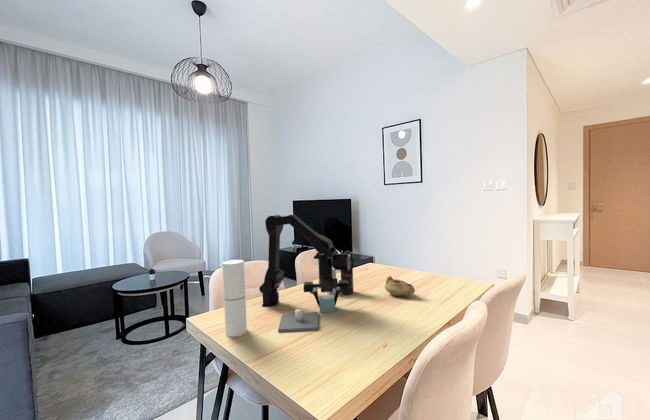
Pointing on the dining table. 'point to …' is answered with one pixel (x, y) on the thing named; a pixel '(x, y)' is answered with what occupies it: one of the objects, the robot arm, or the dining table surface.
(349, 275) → the deodorant
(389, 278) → the brown lumpy piece
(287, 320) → the post stand
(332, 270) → the skincare box
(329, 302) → the pale blue cube
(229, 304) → the cylindrical container
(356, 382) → the dining table surface
